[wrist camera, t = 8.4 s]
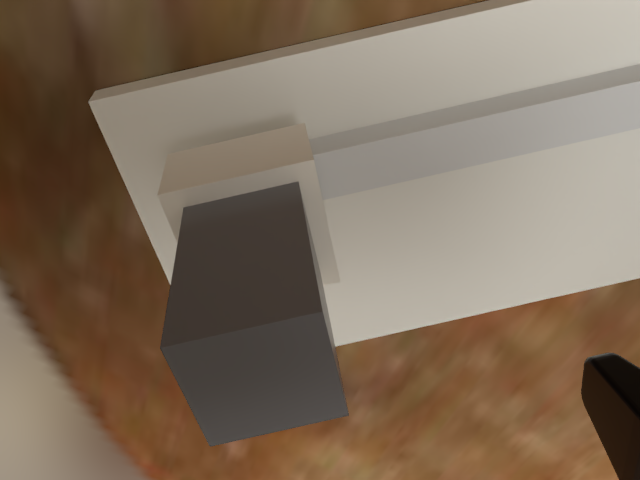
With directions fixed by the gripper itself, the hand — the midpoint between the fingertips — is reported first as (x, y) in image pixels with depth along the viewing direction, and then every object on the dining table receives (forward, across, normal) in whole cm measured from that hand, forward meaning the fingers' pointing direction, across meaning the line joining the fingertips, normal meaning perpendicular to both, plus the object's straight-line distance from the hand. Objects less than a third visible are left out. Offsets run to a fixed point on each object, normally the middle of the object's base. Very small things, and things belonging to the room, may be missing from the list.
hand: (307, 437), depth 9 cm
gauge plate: (+12, -7, +3) cm, 14 cm away
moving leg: (+10, +1, +2) cm, 11 cm away
